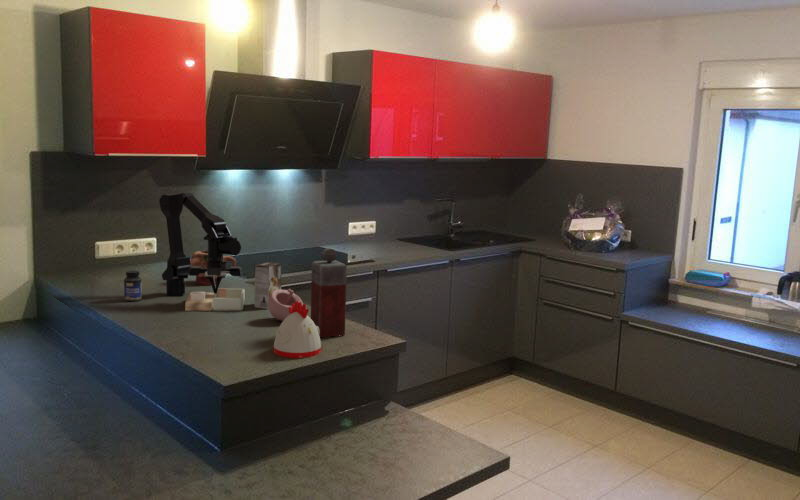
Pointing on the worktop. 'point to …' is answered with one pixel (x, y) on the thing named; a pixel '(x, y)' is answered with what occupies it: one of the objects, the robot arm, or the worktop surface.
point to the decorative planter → (205, 265)
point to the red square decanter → (329, 294)
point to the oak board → (200, 303)
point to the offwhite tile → (198, 296)
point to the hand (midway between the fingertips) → (215, 293)
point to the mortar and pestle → (282, 303)
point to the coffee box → (266, 282)
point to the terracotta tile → (222, 293)
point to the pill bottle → (132, 286)
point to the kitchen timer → (297, 334)
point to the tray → (229, 300)
